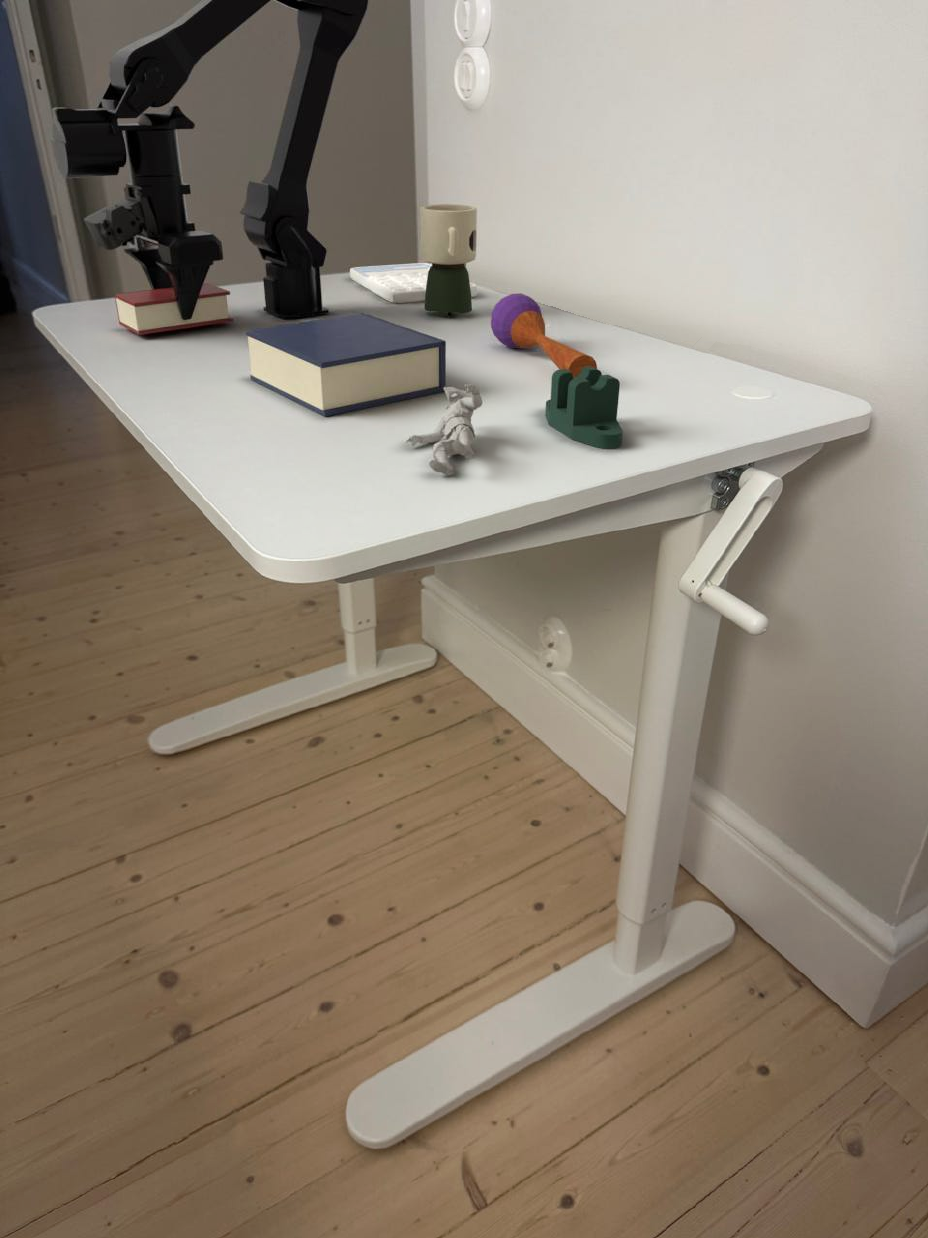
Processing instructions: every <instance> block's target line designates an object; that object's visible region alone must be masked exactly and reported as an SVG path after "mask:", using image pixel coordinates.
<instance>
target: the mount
mask: <svg viewBox="0 0 928 1238" xmlns="http://www.w3.org/2000/svg"><path fill="white" fill-rule="evenodd" d="M620 386H621V382H620V380H619V379H618V378H616V377H614V376H612V375H610V374H603V373H602V371H601V369H598V368H597V369H596V368H594V367H592V366H586V367H583V368H582V371H581V373H580V374H579V375H578V376H577V377H574V378H573V375H572V372H571V371H569V370H567V369H560V370H559V369H556V370H555V371H554V372H553V373H552V374H551V386H550V399H548V400H546V401H545V413H544V414H545V419H546V422H547V424H548V425H549V427H551V428H553V429H555V430H556V431H558V432H559V433H561V434H562V435H564V436H566V437H568V438H569V439H570V440H572V441H576V442H579V443H583V444H585V445H589V446H592V447H595V448H598V449H604V450H605V449H607V450H609V449H617V448H621V446H622V443H623V432H624V430H623V428H622V426H621V425H620V423H619V422H618V420H617V419H618V418H617V417H618V409H619V397H620V388H621V387H620Z"/></svg>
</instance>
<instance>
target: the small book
mask: <svg viewBox="0 0 928 1238" xmlns="http://www.w3.org/2000/svg"><path fill="white" fill-rule="evenodd" d="M230 295H231V290H227V289H225V288H223V287H219V286H217V285H214V284H212V283H209V282H204V283H203V285H202V288H201V291H200V294H199V297H198V300H197V303H196V306H195V309H194V312H193V315H192V318H191V319H189V320H183V319H182V318H181V315H180V312H179V308H178V305H177V301H176V297H175V294H174V290H173V287H170V288H161V289H153V290H152V289H145V290H138V291H137V290H136V291H129V292H121V293H114V295H113V296H114V300H115V307H116V313H117V318H118V324H119V325H120V326H121V327H123V328H125V329H127V330H129V331H131V332H132V333H135V334H137V335H139V336H143V335H150V334H156V333H162V332H170V331H177V330H183V329H190V328H198V327H204V326H211V325H219V324H224V323H233V322H234V318H233V317H231V316H230V315H229V314H230V313H229V304H228V297H227V296H230Z"/></svg>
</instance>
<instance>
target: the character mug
mask: <svg viewBox="0 0 928 1238" xmlns="http://www.w3.org/2000/svg"><path fill="white" fill-rule="evenodd" d="M419 212H420V215H419V216H420V222H419V223H420V260H422V261H423V262H425V263H429V264H432V266H431V267H430V269H429V271H428V277H427V285H426V293H425V301H424V307H423V309H424V311H426V312H430V313H446V315H447V317H452V316H453V314H460V315H461V314H468V313H470V312H472V311H473V303H472V297H471V290H470V282H471V281H470V275H469V271H468V269H467V264H468V263H471V262H473V261H475V260H476V258H477V228H478V227H477V226H478V225H477V224H478V221H477V220H478V208H477V207H475V206H473V205H465V204H450V203H449V204H448V203H447V204H446V203H445V204H444V203H442V204H441V203H440V204H428V205H423V206H421V207H420V209H419Z"/></svg>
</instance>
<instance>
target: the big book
mask: <svg viewBox="0 0 928 1238" xmlns="http://www.w3.org/2000/svg"><path fill="white" fill-rule="evenodd" d="M245 336H246V337H247V342H248V344H247V345H248V353H249V363H250V372H251V374H250V380H251V381H253V382H255V383H257V384H259V385H261V386H263V387H265V388H267V389H269V390H271V391H273V392H275V393H277V394H279V395H281V396H283V397H285V398H286V399H289V400H291V401H293V402H295V403H297V404H299V405H300V406H302V407H305V408H307V409H309V410H311V411H313V412H315V413H317V414H319V415H320V416H323V417H331V416H335V415H340V414H343V413H349V412H355V411H359V410H363V409H367V408H373V407H376V406H377V407H378V406H382V405H386V404H387V405H388V404H391V403H396V402H401V401H406V400H409V399H415V398H419V397H424V396H428V395H434V394H438V393H443V392H445V391H444V387H447V385H446V384H447V383H446V381H447V379H446V378H447V377H446V375H447V374H446V373H447V371H446V369H447V368H446V367H447V366H446V365H447V364H446V363H447V362H446V361H447V359H446V358H447V357H446V355H447V351H446V350H447V347H446V346H447V340H445V339H441V338H438V337H435V336H433V335H430V334H426V333H424V332H420V331H417V330H415V329H412V328H409V327H406V326H403V325H400V324H397V323H394V322H391V321H388V320H385V319H383V318H379V317H376V316H374V315H370V314H368V313H365V312H360V313H353V314H347V315H346V314H345V315H340V316H333V317H326V318H320V319H313V320H307V321H306V320H305V321H299V322H294V323H287V324H279V325H274V326H267V327H260V328H254V329H247V330H245Z"/></svg>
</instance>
